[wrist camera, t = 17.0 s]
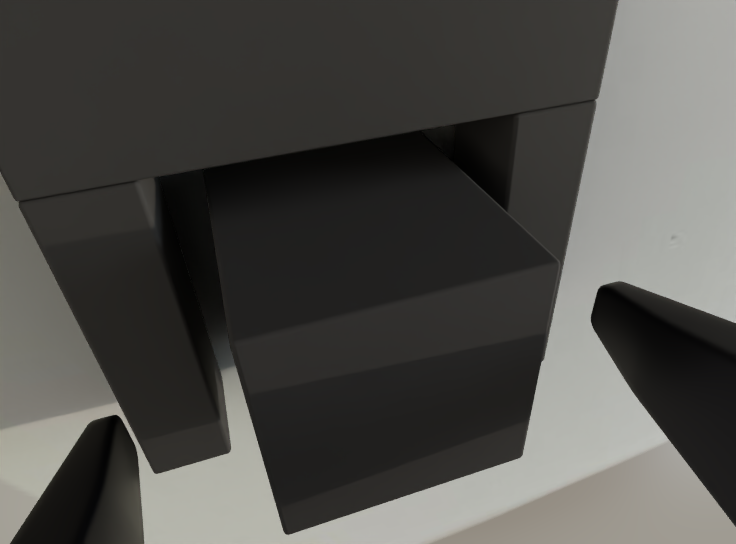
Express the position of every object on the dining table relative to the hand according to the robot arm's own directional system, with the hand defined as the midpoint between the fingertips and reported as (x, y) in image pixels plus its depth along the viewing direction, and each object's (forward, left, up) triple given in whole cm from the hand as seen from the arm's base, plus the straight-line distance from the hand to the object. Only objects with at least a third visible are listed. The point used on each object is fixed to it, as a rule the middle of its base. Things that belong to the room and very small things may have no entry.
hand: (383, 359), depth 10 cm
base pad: (+12, +12, -4) cm, 18 cm away
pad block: (0, 0, -4) cm, 4 cm away
